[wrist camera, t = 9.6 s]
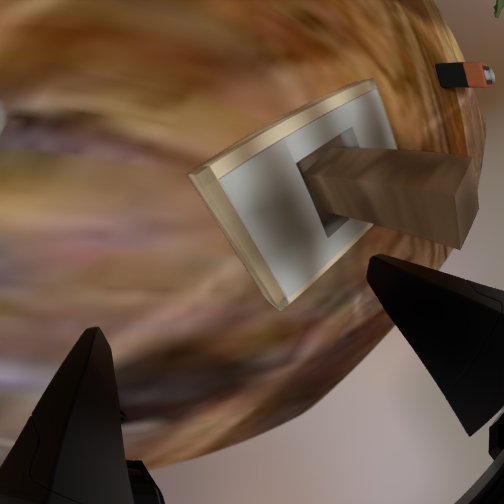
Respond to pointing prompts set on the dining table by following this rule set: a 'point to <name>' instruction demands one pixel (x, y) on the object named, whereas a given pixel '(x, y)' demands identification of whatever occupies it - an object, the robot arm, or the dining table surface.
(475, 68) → the battery
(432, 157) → the peg
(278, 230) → the tray
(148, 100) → the dining table surface
